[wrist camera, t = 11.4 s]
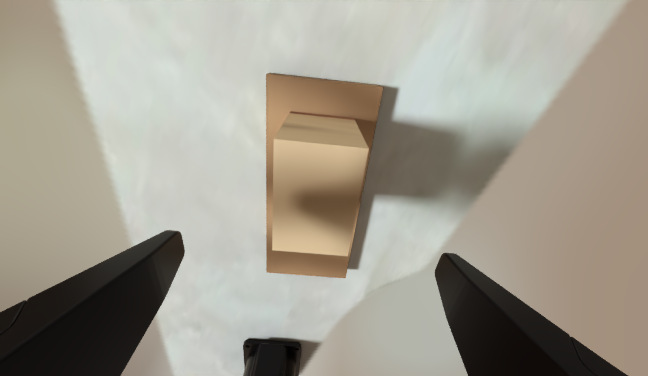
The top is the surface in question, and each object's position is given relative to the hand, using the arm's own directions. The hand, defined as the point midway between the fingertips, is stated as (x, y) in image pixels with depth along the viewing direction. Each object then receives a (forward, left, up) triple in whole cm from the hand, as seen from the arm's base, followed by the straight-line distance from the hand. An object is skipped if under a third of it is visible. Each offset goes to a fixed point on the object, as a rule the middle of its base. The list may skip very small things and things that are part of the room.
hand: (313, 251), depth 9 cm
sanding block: (0, 0, -10) cm, 10 cm away
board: (-3, 0, -11) cm, 11 cm away
